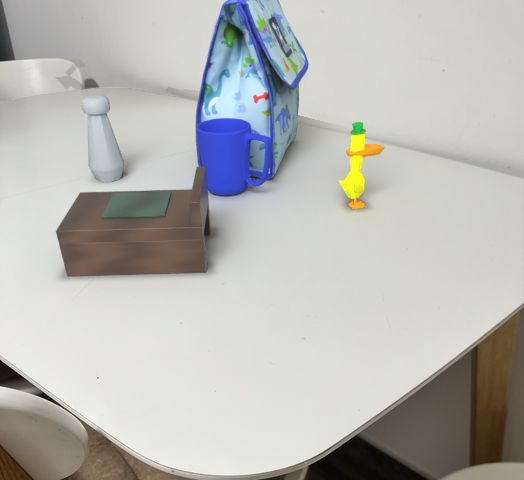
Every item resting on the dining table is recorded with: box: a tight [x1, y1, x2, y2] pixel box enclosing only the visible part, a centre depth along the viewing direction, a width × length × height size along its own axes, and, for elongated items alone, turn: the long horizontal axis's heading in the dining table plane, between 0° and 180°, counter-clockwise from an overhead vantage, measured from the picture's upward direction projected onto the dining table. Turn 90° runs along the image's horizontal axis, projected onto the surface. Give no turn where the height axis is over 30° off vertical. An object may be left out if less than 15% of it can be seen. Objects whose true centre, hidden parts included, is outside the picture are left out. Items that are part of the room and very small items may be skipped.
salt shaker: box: [81, 94, 125, 183], centre depth 93 cm, size 6×6×13 cm
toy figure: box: [337, 121, 386, 210], centre depth 81 cm, size 7×4×12 cm, turn 106°
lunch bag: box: [195, 0, 309, 181], centre depth 95 cm, size 22×17×26 cm
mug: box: [195, 118, 272, 197], centre depth 87 cm, size 8×12×10 cm
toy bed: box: [55, 166, 212, 277], centre depth 72 cm, size 17×12×9 cm
